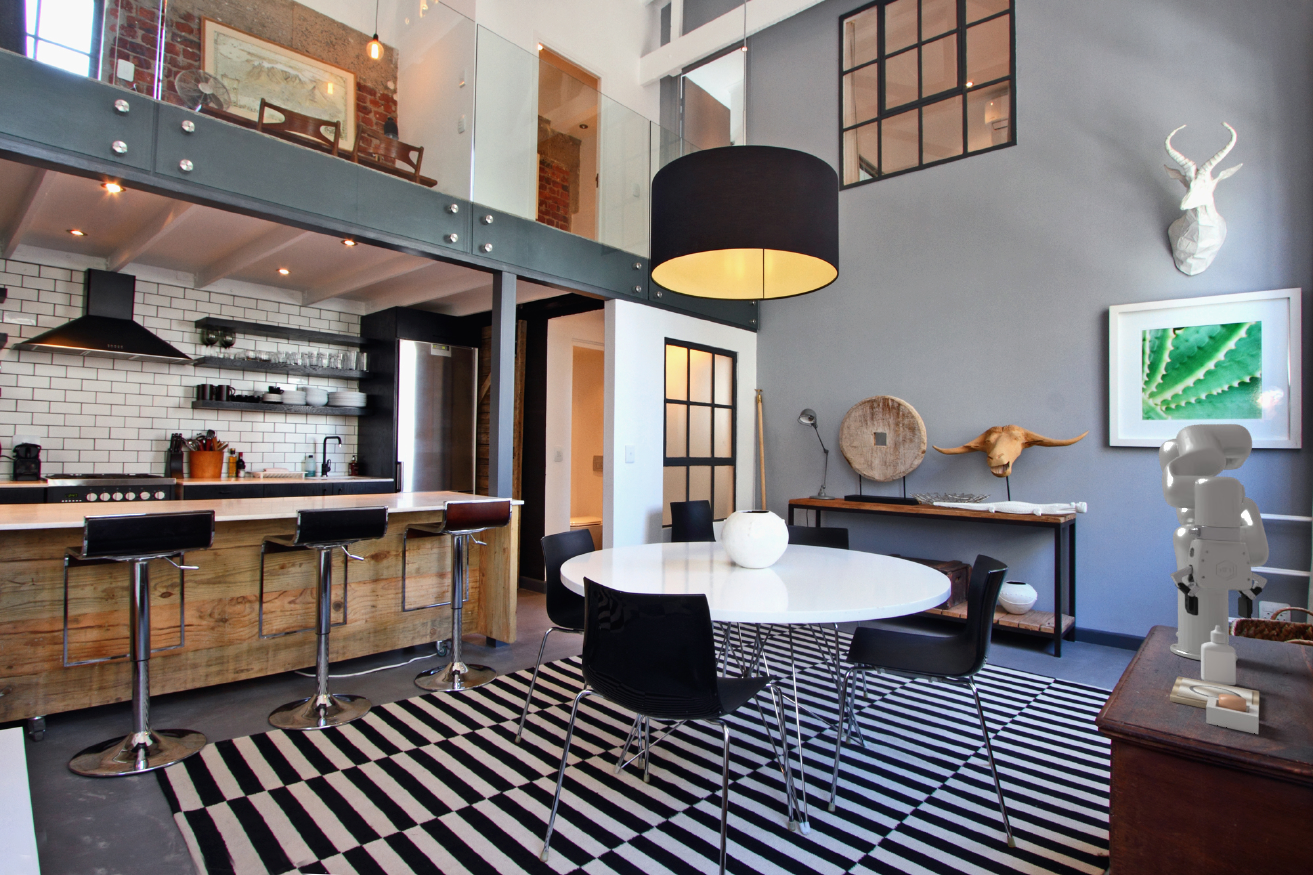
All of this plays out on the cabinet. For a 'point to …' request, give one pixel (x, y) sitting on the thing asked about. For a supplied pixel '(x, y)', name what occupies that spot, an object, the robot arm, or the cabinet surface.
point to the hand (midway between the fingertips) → (1218, 615)
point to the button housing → (1232, 716)
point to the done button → (1232, 702)
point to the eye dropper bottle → (1218, 660)
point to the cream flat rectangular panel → (1207, 692)
